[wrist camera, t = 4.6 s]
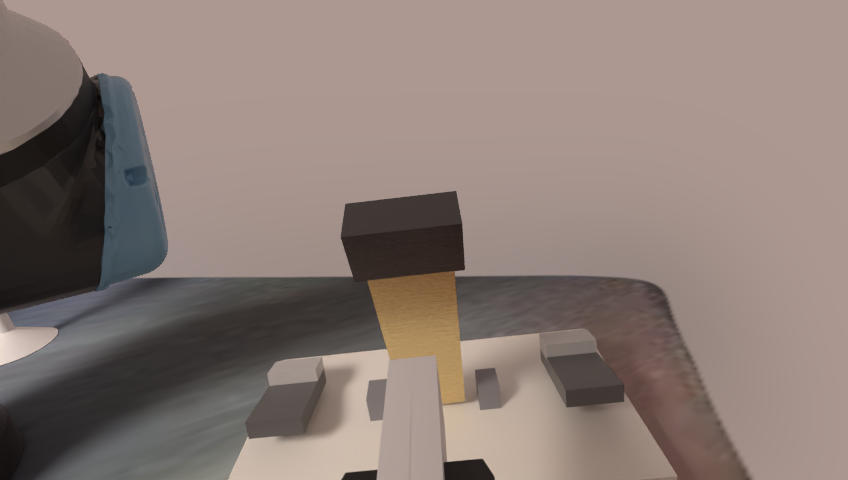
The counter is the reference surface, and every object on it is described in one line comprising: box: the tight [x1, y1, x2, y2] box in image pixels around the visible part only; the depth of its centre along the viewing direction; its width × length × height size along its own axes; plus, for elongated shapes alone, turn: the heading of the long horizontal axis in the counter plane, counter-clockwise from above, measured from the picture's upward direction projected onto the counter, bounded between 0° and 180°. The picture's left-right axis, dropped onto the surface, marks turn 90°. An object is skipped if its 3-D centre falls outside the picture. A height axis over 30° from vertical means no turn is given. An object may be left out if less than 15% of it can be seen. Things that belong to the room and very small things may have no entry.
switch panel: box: [228, 329, 678, 480], centre depth 26 cm, size 22×12×4 cm, turn 91°
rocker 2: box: [539, 329, 624, 408], centre depth 25 cm, size 3×5×2 cm, turn 1°
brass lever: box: [341, 191, 465, 404], centre depth 21 cm, size 4×2×14 cm, turn 91°
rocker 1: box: [245, 357, 326, 439], centre depth 25 cm, size 3×5×2 cm, turn 1°
